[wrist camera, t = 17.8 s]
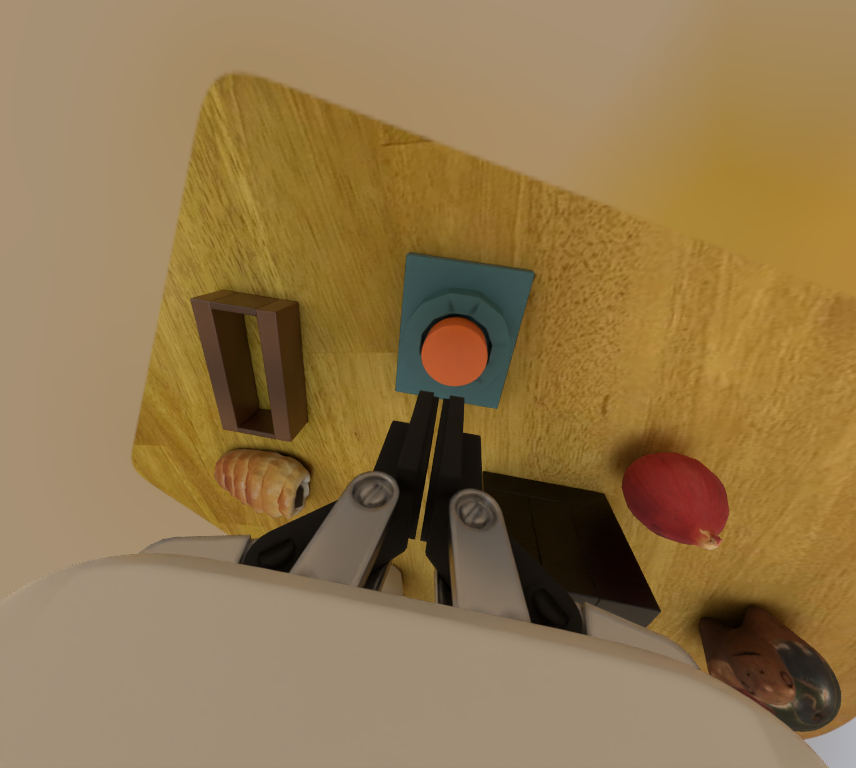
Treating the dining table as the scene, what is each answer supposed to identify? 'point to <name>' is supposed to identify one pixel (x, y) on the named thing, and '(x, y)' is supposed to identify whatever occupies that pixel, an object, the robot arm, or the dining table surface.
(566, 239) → the dining table surface
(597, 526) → the toaster
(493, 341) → the block
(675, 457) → the onion
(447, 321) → the button
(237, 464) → the pastry
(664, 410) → the dining table surface
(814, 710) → the brown mottled ceramic figure
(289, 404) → the brown rectangular frame
